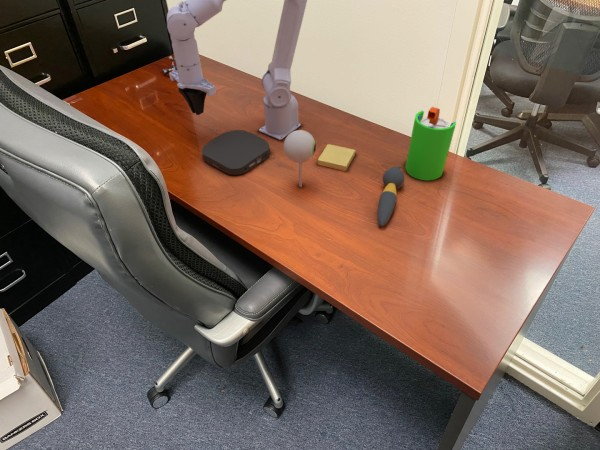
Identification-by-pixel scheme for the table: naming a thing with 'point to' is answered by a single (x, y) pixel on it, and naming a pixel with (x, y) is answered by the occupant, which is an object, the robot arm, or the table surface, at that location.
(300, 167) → the lollipop
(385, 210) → the grey microphone
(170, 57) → the molecule model
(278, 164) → the table surface
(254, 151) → the media streaming box
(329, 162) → the sticky note pad
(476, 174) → the table surface
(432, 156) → the green upright cylinder
